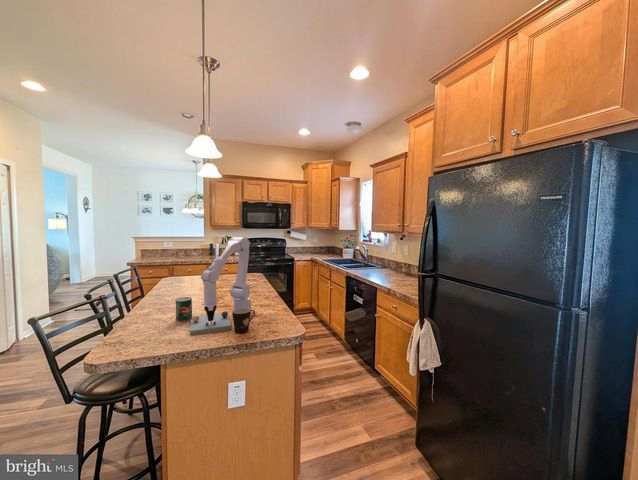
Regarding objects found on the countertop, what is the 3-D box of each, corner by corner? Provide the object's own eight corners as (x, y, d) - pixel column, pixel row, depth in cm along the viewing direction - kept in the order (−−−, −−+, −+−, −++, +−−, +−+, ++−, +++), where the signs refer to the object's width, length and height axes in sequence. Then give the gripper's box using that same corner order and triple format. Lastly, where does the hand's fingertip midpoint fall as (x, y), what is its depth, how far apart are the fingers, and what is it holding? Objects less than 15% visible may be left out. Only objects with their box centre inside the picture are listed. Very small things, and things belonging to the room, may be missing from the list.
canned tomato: (185, 322, 140) (185, 301, 140) (172, 320, 142) (172, 300, 141) (195, 317, 148) (195, 297, 147) (182, 315, 150) (182, 296, 149)
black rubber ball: (227, 316, 144) (227, 310, 144) (228, 318, 141) (228, 312, 141) (221, 316, 143) (221, 310, 142) (221, 318, 140) (221, 312, 139)
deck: (227, 316, 149) (227, 312, 149) (231, 329, 131) (231, 325, 131) (192, 320, 142) (191, 317, 142) (190, 335, 124) (190, 331, 124)
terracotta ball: (199, 320, 137) (199, 314, 137) (199, 322, 134) (198, 316, 134) (192, 321, 136) (192, 314, 136) (192, 323, 133) (191, 316, 133)
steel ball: (214, 325, 135) (214, 319, 134) (214, 328, 132) (214, 323, 131) (207, 326, 134) (207, 320, 133) (207, 330, 131) (207, 324, 130)
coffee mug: (234, 336, 123) (233, 314, 122) (230, 329, 131) (230, 309, 130) (259, 331, 128) (258, 311, 128) (254, 325, 136) (254, 306, 135)
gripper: (201, 291, 139) (202, 317, 140) (201, 298, 126) (202, 326, 126) (216, 290, 142) (216, 315, 142) (217, 296, 128) (217, 324, 129)
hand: (210, 320), depth 135 cm, fingers closed
